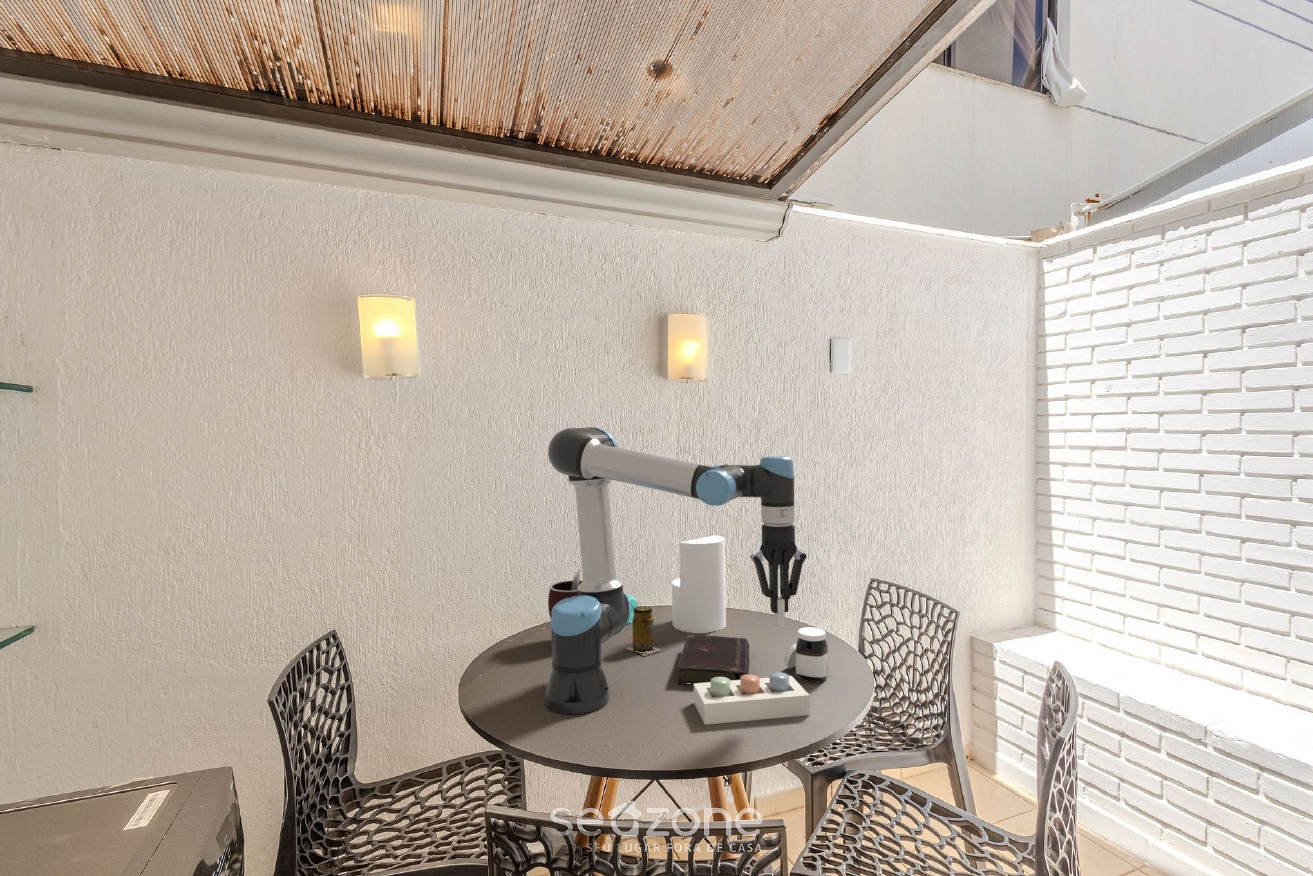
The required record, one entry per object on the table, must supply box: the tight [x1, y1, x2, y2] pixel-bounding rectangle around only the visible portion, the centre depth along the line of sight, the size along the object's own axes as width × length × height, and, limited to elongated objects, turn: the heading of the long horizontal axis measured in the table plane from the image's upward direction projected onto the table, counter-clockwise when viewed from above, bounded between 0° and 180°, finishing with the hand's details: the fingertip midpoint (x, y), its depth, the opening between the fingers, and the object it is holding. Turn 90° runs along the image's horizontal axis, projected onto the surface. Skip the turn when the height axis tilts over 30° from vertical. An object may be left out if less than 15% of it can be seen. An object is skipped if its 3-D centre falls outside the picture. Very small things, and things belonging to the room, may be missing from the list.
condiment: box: [626, 605, 661, 657], centre depth 183 cm, size 7×8×12 cm
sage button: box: [711, 677, 730, 698], centre depth 143 cm, size 4×4×3 cm
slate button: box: [769, 671, 790, 693], centre depth 145 cm, size 4×4×3 cm
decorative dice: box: [625, 593, 639, 625], centre depth 210 cm, size 8×8×8 cm
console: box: [693, 675, 811, 725], centre depth 144 cm, size 24×11×4 cm, turn 99°
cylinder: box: [671, 535, 727, 634], centre depth 205 cm, size 17×17×28 cm
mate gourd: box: [547, 569, 583, 619], centre depth 191 cm, size 16×14×20 cm
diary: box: [676, 634, 750, 686], centre depth 169 cm, size 19×25×5 cm
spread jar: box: [783, 626, 829, 683], centre depth 164 cm, size 12×11×12 cm
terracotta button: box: [740, 674, 761, 695], centre depth 144 cm, size 4×4×3 cm
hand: (779, 626), depth 145 cm, fingers closed
